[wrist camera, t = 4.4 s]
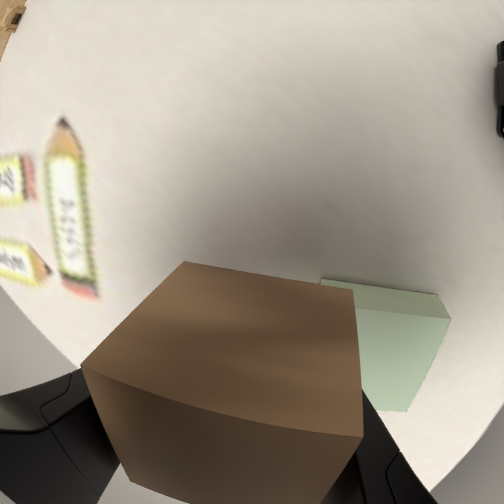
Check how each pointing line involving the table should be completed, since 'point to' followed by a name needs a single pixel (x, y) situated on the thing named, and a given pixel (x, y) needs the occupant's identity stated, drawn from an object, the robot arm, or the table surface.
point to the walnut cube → (232, 388)
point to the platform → (395, 341)
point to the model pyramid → (9, 20)
